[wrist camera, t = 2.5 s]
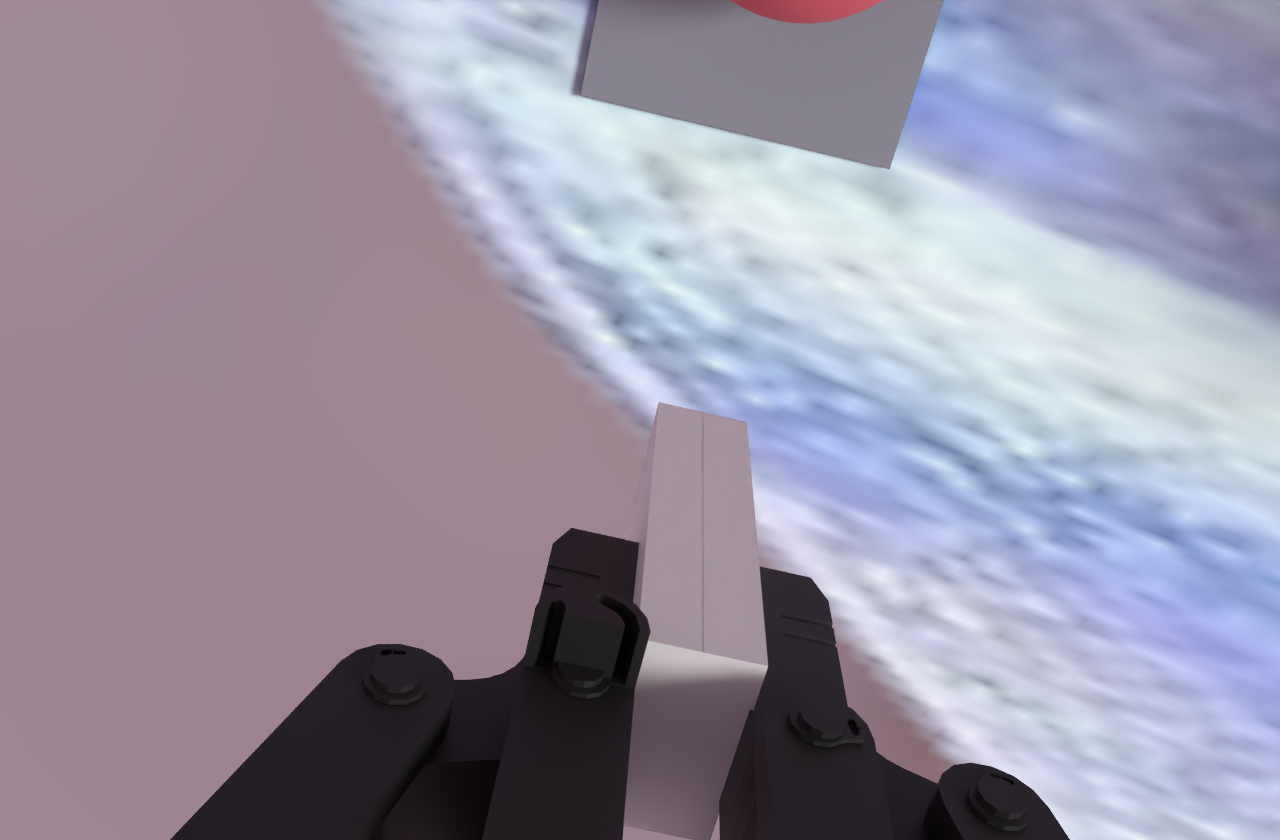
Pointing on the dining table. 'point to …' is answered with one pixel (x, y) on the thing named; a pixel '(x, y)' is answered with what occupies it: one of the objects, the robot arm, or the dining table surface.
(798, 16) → the ball
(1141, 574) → the dining table surface
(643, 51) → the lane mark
